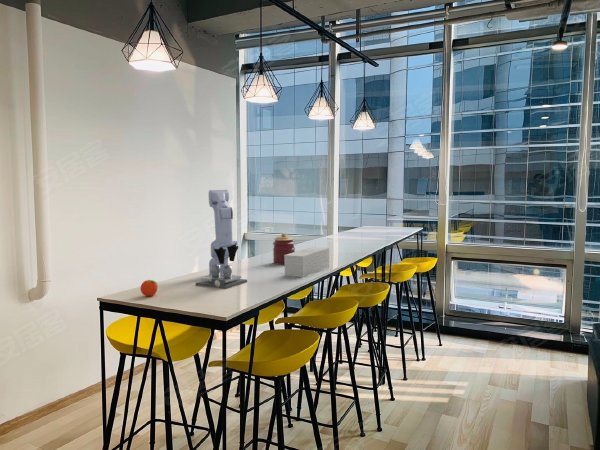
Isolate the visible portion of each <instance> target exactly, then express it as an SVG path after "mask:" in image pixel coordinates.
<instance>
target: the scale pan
mask: <svg viewBox="0 0 600 450" xmlns="http://www.w3.org/2000/svg"><path fill="white" fill-rule="evenodd" d="M211 279H221V280H225V283H227V282H230V281H233V280H236V279H242V275H235V274H232V278H228V279H225V278H223V274H220V277H212V275H211V276H209V275H208V276H205V277H201V281H203V280H204V281H211Z"/></svg>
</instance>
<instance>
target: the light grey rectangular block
mask: <svg viewBox="0 0 600 450" xmlns="http://www.w3.org/2000/svg"><path fill="white" fill-rule="evenodd" d="M283 265H284V276H286V277H298V278H304V277H308V276H309V275H312V274H315V273H317V272H320V271H322V270H324V269H327V268H329V267H330V248H329V247H317V246H315V247H314V246H311V247H308V248H303V249H300V250H297V251H295V252H293V253H290V254H287V255H284V264H283Z"/></svg>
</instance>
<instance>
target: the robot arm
mask: <svg viewBox="0 0 600 450" xmlns="http://www.w3.org/2000/svg"><path fill="white" fill-rule="evenodd" d="M229 196H230V195H229V190H228V189H209V190H208V204H209V207H210V208H212V209H213V214H214V216H213V217H214V229H215V230H214V231H215V239H214V240H213V241H212V242H211V244H210V257H211V259H210V260H209V263H208V266H209V267H208V269H209V271H208V272H209V274H208V276H211V275H212V265H214V264H220V274H223V266H226V265H229V262H235V260H236V259H235V258H236V254H237V252H238V250H239V245H238V240H233V218H234V211H233V208H232V206H230V205H229V198H230V197H229Z"/></svg>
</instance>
